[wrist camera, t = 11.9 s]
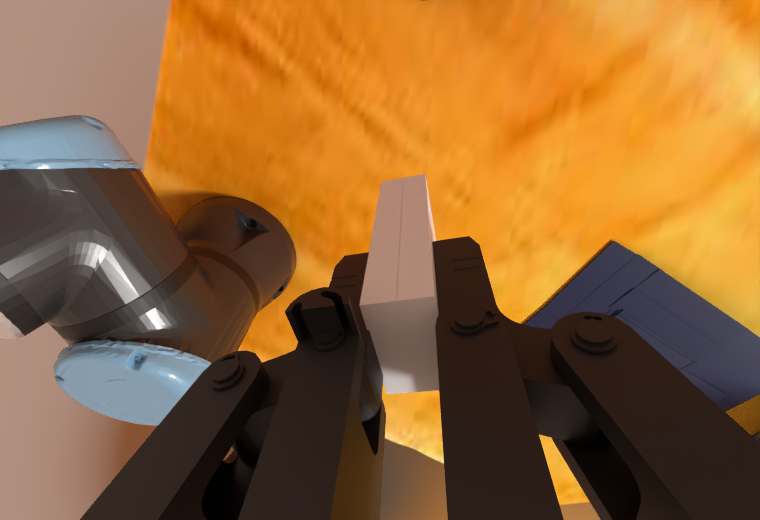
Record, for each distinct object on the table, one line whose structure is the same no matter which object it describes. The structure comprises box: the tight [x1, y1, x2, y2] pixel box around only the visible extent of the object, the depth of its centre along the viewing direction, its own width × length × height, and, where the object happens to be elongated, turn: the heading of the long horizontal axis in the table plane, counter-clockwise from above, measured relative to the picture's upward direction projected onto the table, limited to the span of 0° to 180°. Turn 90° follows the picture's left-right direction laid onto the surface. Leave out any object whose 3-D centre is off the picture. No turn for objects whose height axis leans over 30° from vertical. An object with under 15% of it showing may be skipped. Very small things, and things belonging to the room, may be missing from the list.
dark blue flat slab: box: [524, 241, 760, 412], centre depth 53 cm, size 24×30×4 cm
